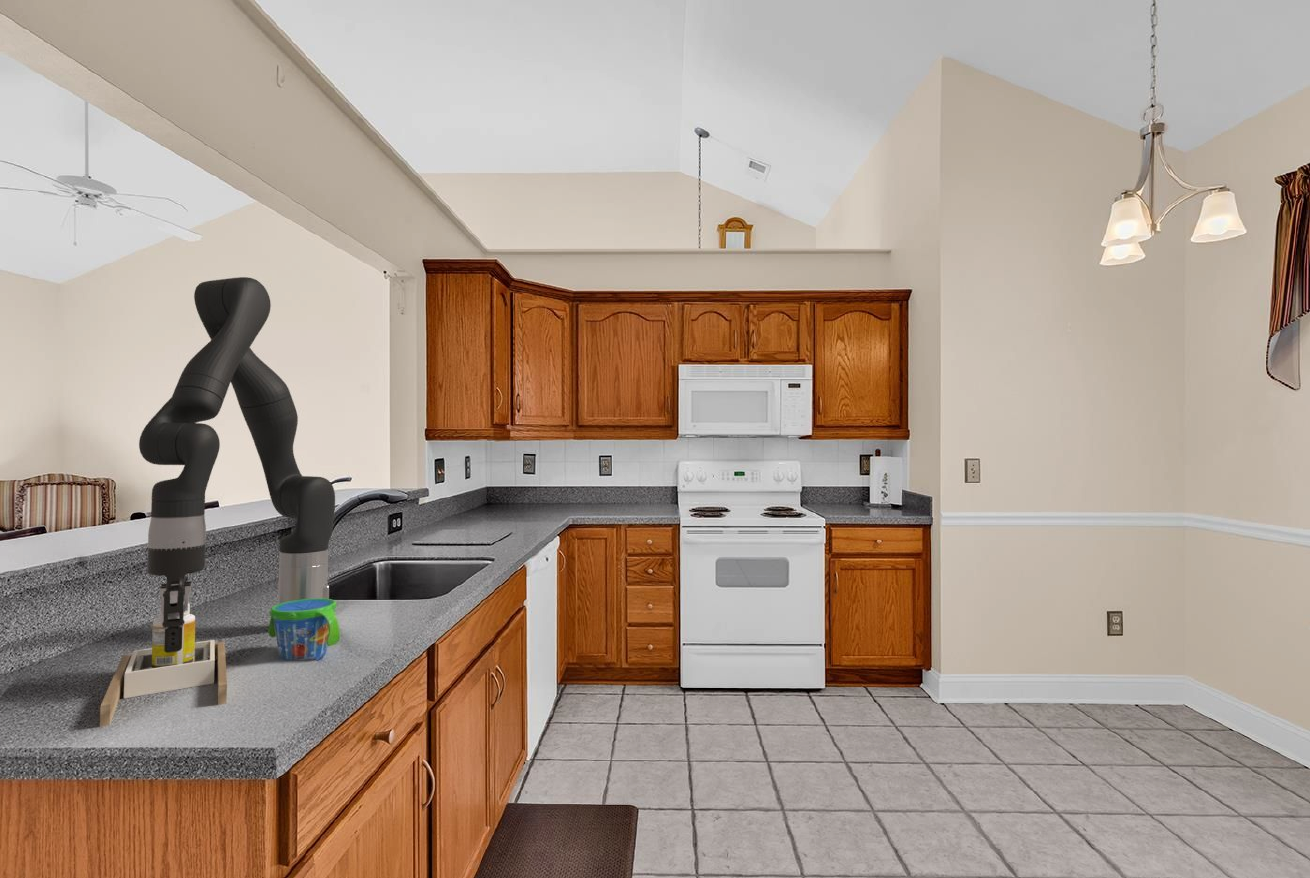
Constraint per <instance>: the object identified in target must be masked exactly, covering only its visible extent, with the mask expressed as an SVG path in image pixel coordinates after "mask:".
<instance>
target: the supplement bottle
mask: <svg viewBox="0 0 1310 878" xmlns="http://www.w3.org/2000/svg"><path fill="white" fill-rule="evenodd" d="M190 607H191V606H190V602H189V603H188V611H187V612H186V613H184V621H185V624H184V625H183V630H182V649H181V650H180V651H176V652H168V653H167V652H165V651H164V645H165V629H164V628H163V626H162V623H163V621H164V615H162V614H161V605H160V606H159V609H158V611H159V612H158V617H157V618H155V619H154V620H153V621H152V632H151V633H152V635H151V636H152V637H151V641H152V642H151V648H152V668H158V667H164V666H171V665H178V664H184V663H191V662H194V658H195V642H196V616H195V615H194V614H192V613H190V611H191V608H190ZM177 618H179V613H177V614H170V615H169V618H168V619H177Z"/></svg>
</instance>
